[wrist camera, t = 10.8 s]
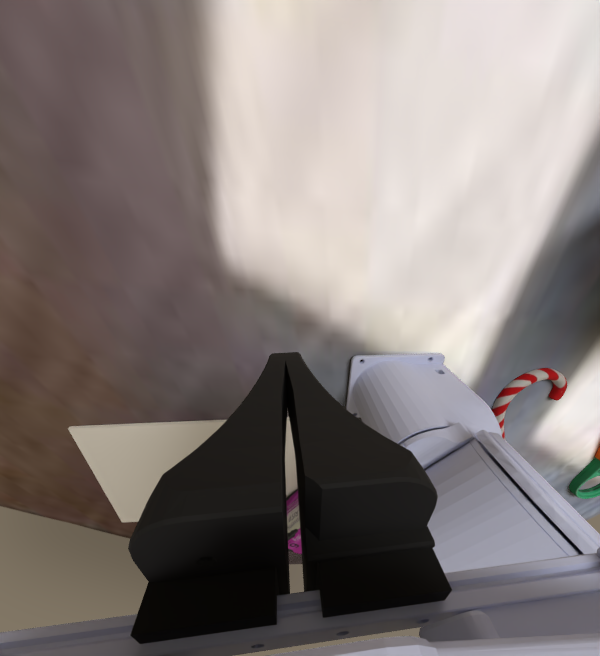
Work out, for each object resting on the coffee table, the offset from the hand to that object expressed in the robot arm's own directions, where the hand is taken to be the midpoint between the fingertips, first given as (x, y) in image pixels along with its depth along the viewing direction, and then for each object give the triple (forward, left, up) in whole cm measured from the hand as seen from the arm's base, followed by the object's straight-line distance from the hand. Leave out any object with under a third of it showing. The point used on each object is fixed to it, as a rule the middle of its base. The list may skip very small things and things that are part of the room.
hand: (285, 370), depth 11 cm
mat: (+11, +23, -11) cm, 27 cm away
